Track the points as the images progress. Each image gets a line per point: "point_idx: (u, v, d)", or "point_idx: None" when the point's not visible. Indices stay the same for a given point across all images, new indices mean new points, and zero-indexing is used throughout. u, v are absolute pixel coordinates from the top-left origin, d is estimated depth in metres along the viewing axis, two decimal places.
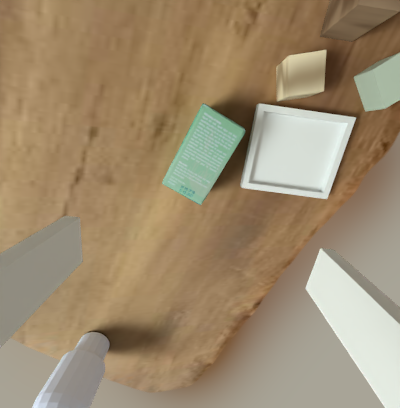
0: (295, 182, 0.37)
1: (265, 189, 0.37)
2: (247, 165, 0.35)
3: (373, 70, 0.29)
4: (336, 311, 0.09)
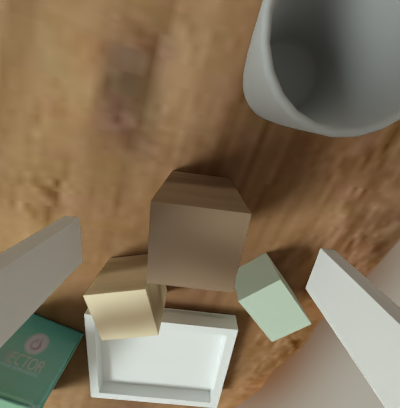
0: (172, 382, 0.26)
1: (125, 398, 0.25)
2: (91, 376, 0.24)
3: (240, 301, 0.17)
4: (336, 311, 0.09)
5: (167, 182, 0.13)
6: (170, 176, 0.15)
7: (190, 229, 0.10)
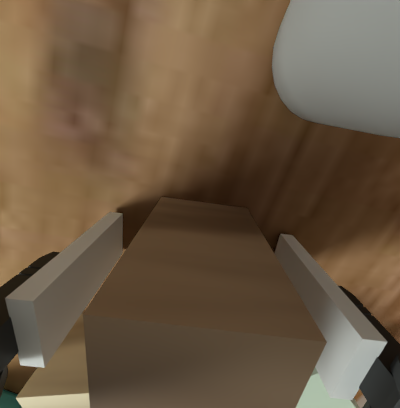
0: None
1: None
2: None
3: None
4: None
5: (145, 229, 0.08)
6: (154, 211, 0.09)
7: (180, 368, 0.04)
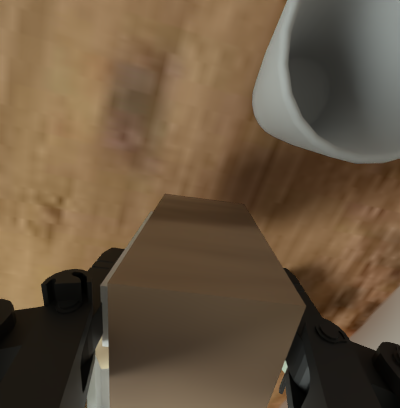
0: None
1: None
2: (88, 403, 0.22)
3: None
4: None
5: (152, 220, 0.09)
6: (159, 206, 0.10)
7: (186, 330, 0.05)
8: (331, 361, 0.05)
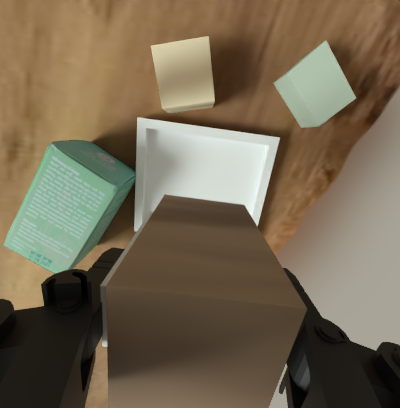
0: None
1: None
2: (136, 202, 0.25)
3: (288, 74, 0.19)
4: None
5: (152, 222, 0.09)
6: (159, 207, 0.10)
7: (186, 332, 0.05)
8: (331, 361, 0.05)
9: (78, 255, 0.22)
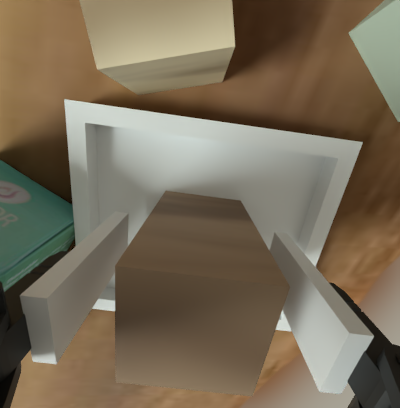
0: None
1: None
2: None
3: None
4: None
5: (154, 214, 0.09)
6: (160, 202, 0.11)
7: (184, 308, 0.06)
8: None
9: None
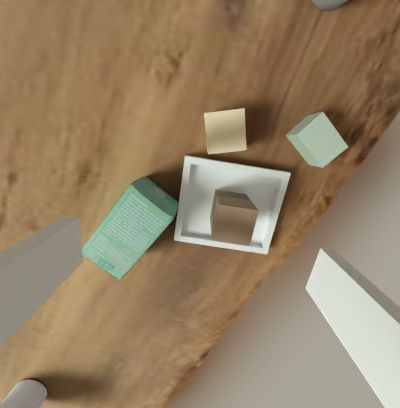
0: None
1: (199, 242, 0.34)
2: (177, 218, 0.33)
3: (298, 134, 0.27)
4: (336, 311, 0.09)
5: (218, 196, 0.28)
6: (217, 193, 0.30)
7: (233, 216, 0.25)
8: None
9: None
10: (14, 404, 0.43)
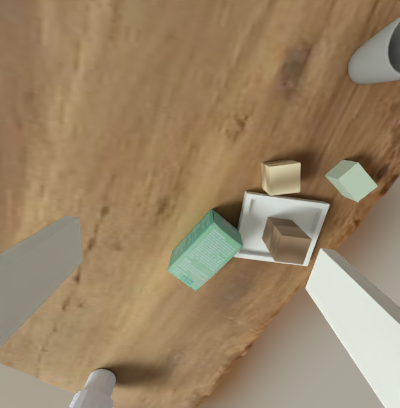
0: None
1: (253, 258, 0.42)
2: None
3: (338, 179, 0.35)
4: (336, 311, 0.09)
5: (275, 225, 0.37)
6: (272, 221, 0.38)
7: (292, 243, 0.33)
8: None
9: None
10: (96, 388, 0.52)
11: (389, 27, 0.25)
